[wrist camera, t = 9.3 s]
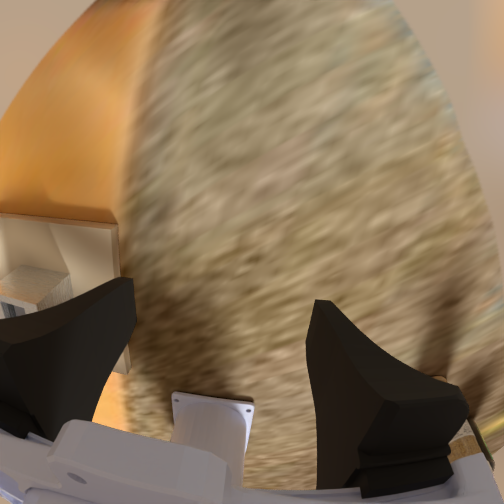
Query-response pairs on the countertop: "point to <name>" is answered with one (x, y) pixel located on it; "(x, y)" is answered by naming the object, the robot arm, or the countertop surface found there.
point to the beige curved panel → (63, 254)
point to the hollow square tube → (33, 290)
